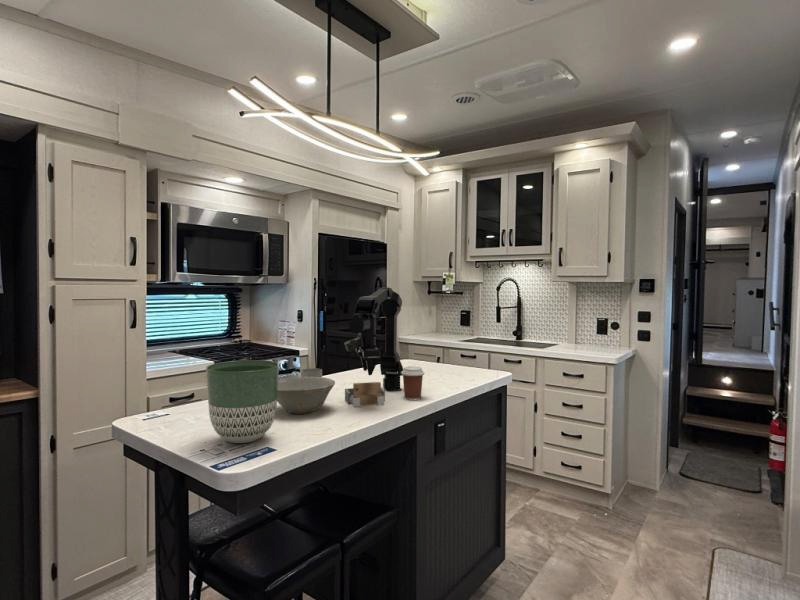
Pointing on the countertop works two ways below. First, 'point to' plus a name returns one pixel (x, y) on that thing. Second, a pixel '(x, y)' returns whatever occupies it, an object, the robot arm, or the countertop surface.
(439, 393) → the countertop surface
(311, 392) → the ceramic bowl
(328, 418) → the countertop surface
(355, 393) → the door
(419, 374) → the coffee cup
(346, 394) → the carcass
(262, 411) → the planter
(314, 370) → the cup
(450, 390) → the countertop surface
